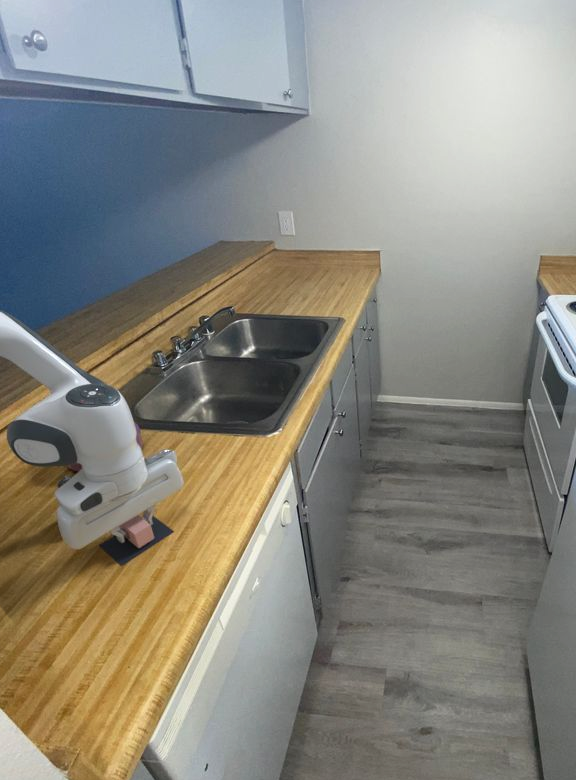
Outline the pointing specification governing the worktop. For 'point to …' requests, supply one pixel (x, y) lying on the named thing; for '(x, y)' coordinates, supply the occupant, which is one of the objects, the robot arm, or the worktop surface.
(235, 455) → the worktop surface
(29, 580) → the worktop surface
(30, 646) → the worktop surface
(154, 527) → the mat
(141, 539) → the eraser
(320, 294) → the worktop surface
